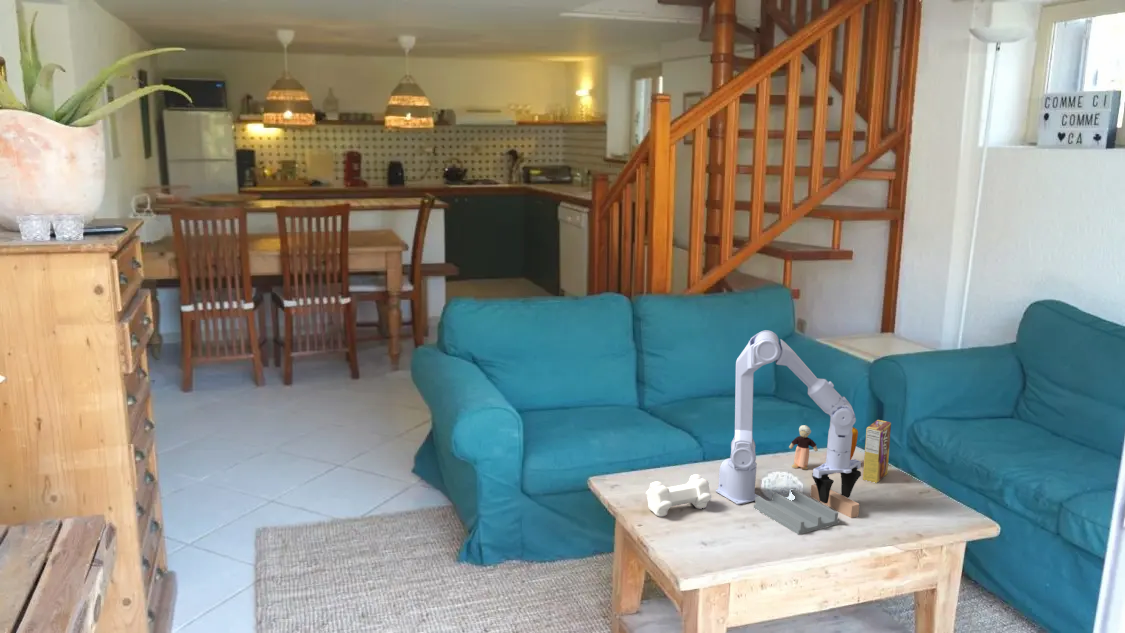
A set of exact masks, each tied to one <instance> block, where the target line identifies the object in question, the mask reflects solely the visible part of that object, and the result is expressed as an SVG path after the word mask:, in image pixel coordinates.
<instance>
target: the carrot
mask: <svg viewBox="0 0 1125 633" xmlns="http://www.w3.org/2000/svg"><path fill="white" fill-rule="evenodd" d="M858 435H859V432H858V429H857V428H855V427H854V426H853V429H852V444H851V454H850V460H853V459H852V458H853V456H854V454H855V452H856V451H855V450H856V447H857V443H858Z"/></svg>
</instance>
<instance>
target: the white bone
mask: <svg viewBox="0 0 1125 633" xmlns="http://www.w3.org/2000/svg"><path fill="white" fill-rule="evenodd" d="M645 496H646V498H647V499H646V500H647V504H648V505H647V508H648V510H650V511H651V512H652V513H654V515H655V516H656V517H658V518H659V517H660V518H663V517H666V515H668V511H669V510H670V508H672V507H675V506H680V505H686V504H692V505H693V506H694V508H696V509H701V510H702V508H703V509H706V507H707V505H708V502H709V501H710V500H712V494H711V490H710V482H709V480H708V479H705V478H703V477H702V475H701V474H697V473H695V474H692V475H690V476H689V480H688V481H687V482H686V483H684V484H683V483H682V484H678V485H672V486H665V485H664V484H663V483H662V482H661V481H657V480H656V481H653V482H651V483H650V484H649V488H648V489H647V490H646V492H645Z"/></svg>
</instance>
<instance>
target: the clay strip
mask: <svg viewBox="0 0 1125 633" xmlns="http://www.w3.org/2000/svg"><path fill="white" fill-rule="evenodd" d="M810 486H811V487H810V488H811V489H810V498H811V499H813V500H815V501H817V502H819V501H820V499H819V494H818V489H817V486H816V483H815V484H812V485H810ZM819 503H821V504H823V505H824V506H826V507H828V508H830V509H832V510H834V511H836V512H838V513H840V514H842V515H845V516H846V517H848V518H849V519H853V518H856V517H859V512H860V503H858V502H856V501H855V500H852V499H850V498H847V497H845V496H843V495H842V494H840V493H838V492H836V491H835V490H833V489H832V488H831V489H830V493H829V499H828V503H823V502H821V501H820V502H819Z"/></svg>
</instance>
